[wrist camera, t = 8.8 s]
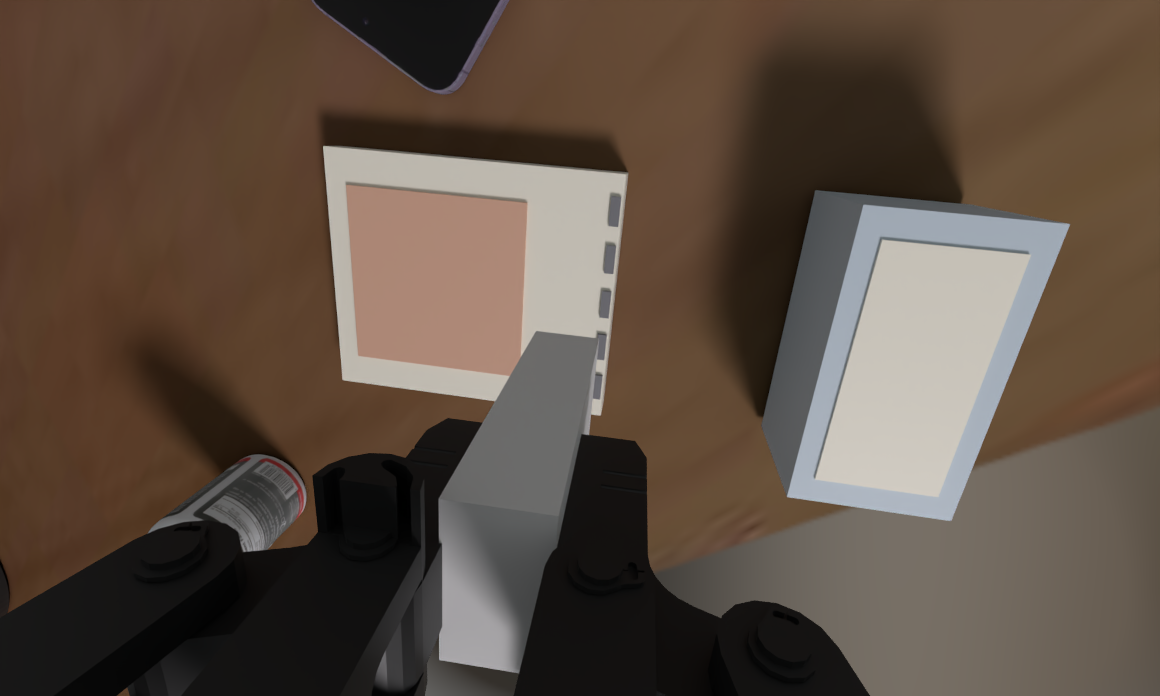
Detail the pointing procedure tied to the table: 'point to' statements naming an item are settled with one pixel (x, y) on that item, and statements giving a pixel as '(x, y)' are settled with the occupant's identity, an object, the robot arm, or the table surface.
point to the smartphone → (421, 34)
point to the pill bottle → (247, 501)
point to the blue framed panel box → (900, 347)
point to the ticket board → (467, 265)
